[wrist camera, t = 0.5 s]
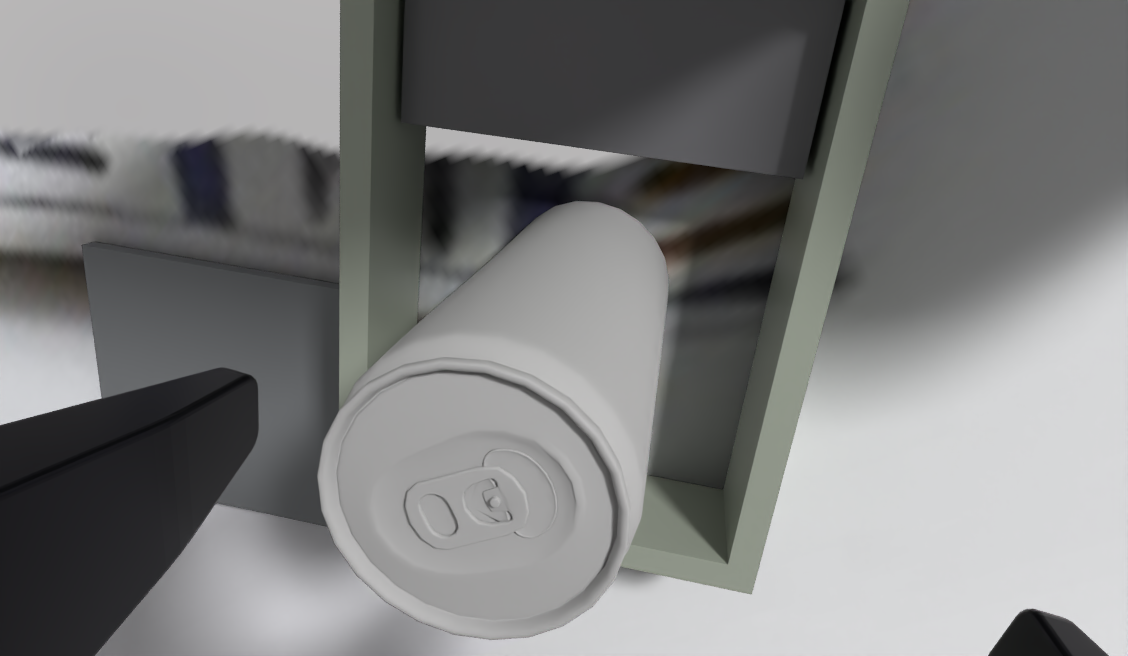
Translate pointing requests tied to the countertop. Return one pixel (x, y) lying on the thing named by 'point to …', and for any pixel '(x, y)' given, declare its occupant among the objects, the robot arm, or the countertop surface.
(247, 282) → the pad
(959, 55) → the countertop surface
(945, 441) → the countertop surface
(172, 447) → the robot arm
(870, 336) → the countertop surface
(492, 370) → the beverage can
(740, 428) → the case
